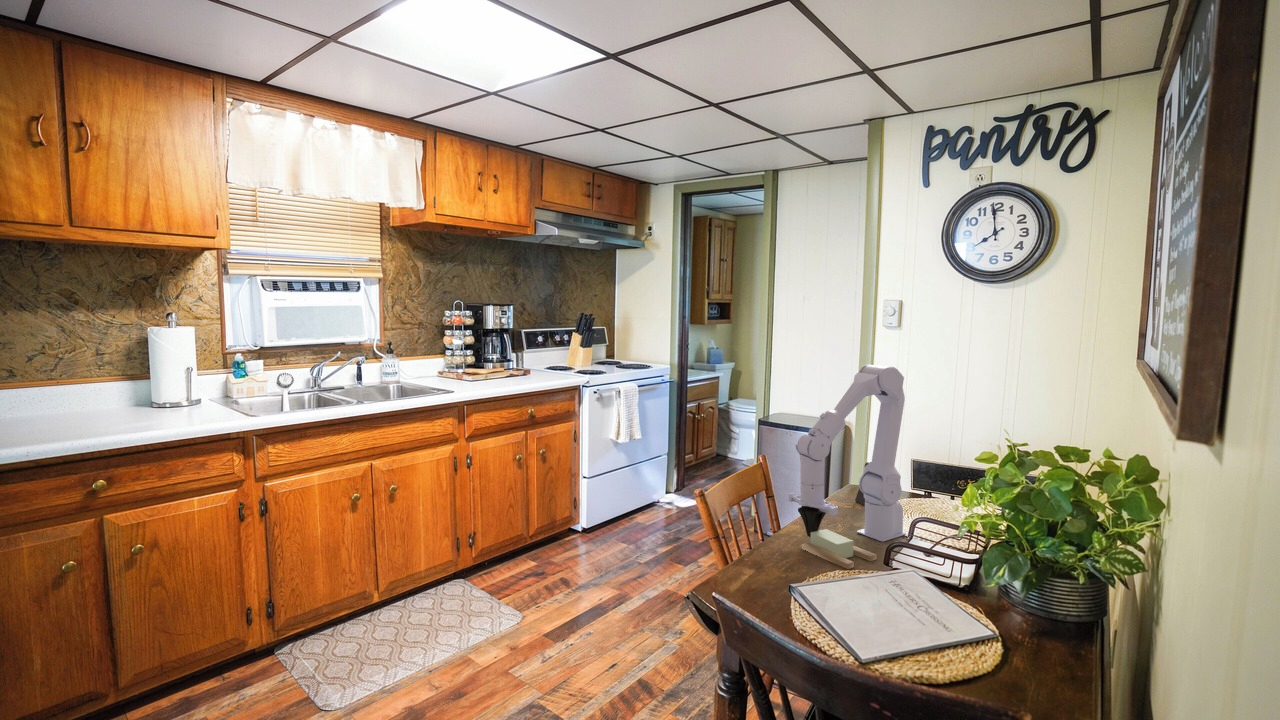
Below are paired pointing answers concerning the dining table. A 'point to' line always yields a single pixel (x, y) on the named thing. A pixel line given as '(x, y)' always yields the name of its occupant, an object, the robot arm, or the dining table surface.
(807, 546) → the twin beige rails
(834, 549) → the green block
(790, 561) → the dining table surface
